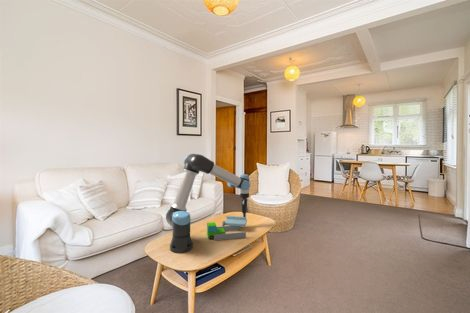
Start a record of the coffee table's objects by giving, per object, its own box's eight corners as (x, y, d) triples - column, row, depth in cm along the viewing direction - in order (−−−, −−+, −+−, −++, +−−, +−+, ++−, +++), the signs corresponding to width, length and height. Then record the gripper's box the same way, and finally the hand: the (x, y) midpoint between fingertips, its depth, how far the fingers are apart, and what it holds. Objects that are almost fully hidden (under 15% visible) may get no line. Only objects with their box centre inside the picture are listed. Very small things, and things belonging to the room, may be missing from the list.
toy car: (226, 239, 168) (226, 225, 167) (208, 240, 165) (208, 226, 164) (223, 233, 178) (223, 221, 177) (206, 235, 175) (206, 222, 174)
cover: (244, 232, 180) (244, 222, 180) (221, 230, 183) (221, 220, 183) (246, 226, 193) (246, 217, 193) (225, 225, 196) (225, 215, 196)
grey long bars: (214, 240, 165) (214, 234, 165) (211, 232, 181) (211, 227, 181) (245, 237, 170) (245, 232, 170) (240, 229, 186) (240, 224, 186)
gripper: (247, 194, 186) (247, 222, 187) (250, 191, 198) (250, 218, 199) (238, 194, 187) (238, 222, 189) (241, 190, 200) (241, 217, 201)
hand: (244, 220), depth 194 cm, fingers closed
